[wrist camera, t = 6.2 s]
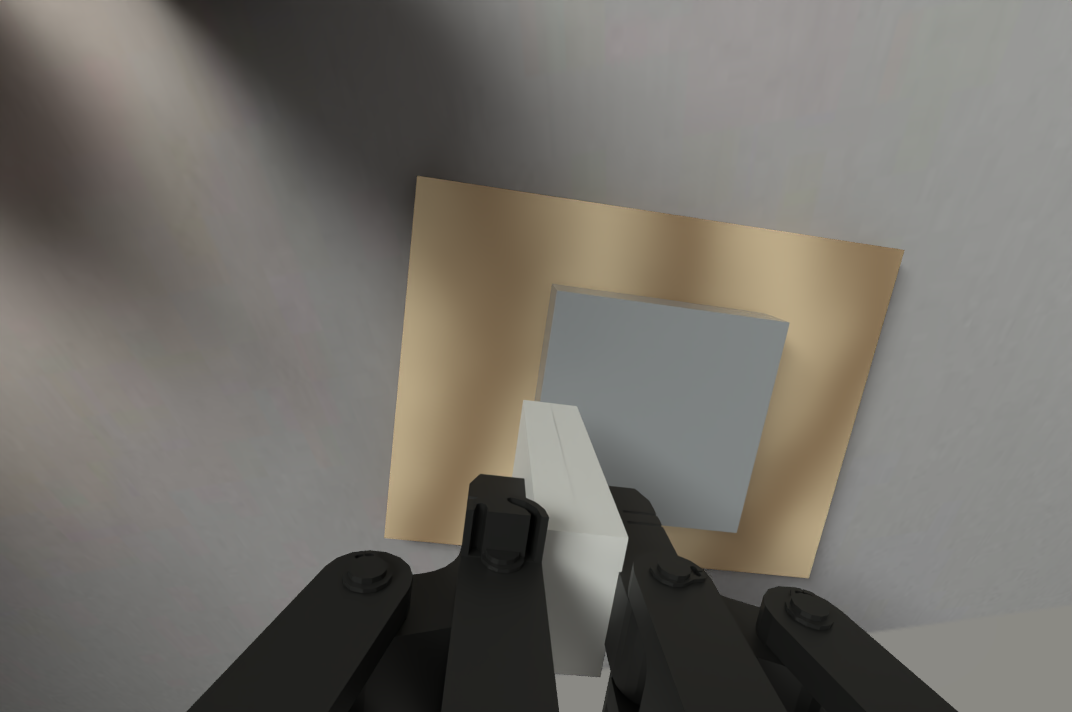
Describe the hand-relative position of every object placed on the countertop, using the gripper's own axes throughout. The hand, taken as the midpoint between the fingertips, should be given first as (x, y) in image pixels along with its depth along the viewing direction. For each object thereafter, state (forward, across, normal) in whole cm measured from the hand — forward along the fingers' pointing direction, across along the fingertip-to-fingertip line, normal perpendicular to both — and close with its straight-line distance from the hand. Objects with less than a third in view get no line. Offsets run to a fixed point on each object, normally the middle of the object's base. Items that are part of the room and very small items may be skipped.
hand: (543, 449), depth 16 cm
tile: (+5, 0, 0) cm, 5 cm away
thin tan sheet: (+7, +4, 0) cm, 8 cm away
